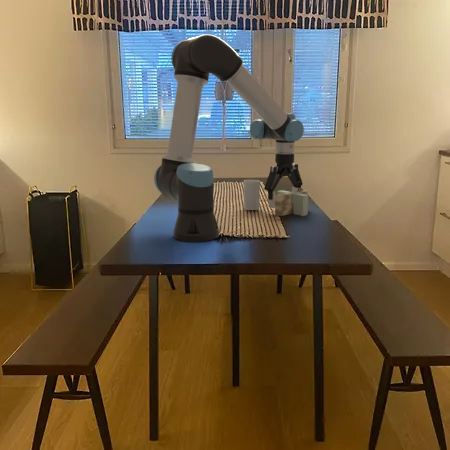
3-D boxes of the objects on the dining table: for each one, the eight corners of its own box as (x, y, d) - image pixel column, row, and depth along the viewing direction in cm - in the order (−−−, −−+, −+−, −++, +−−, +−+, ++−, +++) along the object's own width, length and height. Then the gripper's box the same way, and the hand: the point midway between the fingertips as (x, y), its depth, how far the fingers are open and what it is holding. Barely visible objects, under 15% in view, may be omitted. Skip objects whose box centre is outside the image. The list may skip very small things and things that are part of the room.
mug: (259, 211, 190) (259, 182, 187) (242, 210, 191) (242, 182, 188) (260, 206, 200) (260, 178, 197) (244, 205, 200) (245, 178, 197)
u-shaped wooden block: (280, 216, 181) (281, 195, 179) (275, 214, 184) (275, 194, 182) (307, 210, 191) (308, 191, 189) (301, 208, 194) (302, 190, 192)
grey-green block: (302, 216, 181) (303, 195, 179) (276, 210, 192) (277, 191, 190) (307, 214, 183) (308, 194, 181) (281, 209, 194) (282, 190, 192)
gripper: (269, 155, 174) (268, 210, 180) (312, 151, 190) (310, 202, 195) (255, 154, 180) (255, 207, 185) (298, 150, 196) (296, 199, 201)
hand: (283, 205), depth 190 cm, fingers open, 13 cm apart
